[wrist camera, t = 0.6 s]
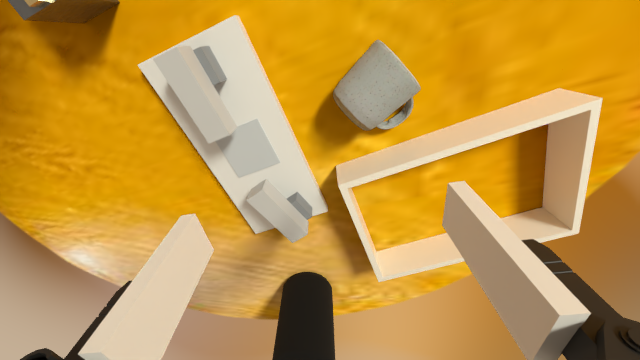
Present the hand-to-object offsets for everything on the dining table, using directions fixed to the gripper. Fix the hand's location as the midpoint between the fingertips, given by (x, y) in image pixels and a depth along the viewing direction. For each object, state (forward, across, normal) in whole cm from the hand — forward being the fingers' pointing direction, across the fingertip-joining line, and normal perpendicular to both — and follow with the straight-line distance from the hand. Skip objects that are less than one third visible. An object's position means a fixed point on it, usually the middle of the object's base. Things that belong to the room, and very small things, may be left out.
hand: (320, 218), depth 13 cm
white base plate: (+25, -12, -5) cm, 28 cm away
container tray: (+25, +19, -17) cm, 36 cm away
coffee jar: (+25, -8, -39) cm, 47 cm away
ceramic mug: (+25, +8, 0) cm, 26 cm away
